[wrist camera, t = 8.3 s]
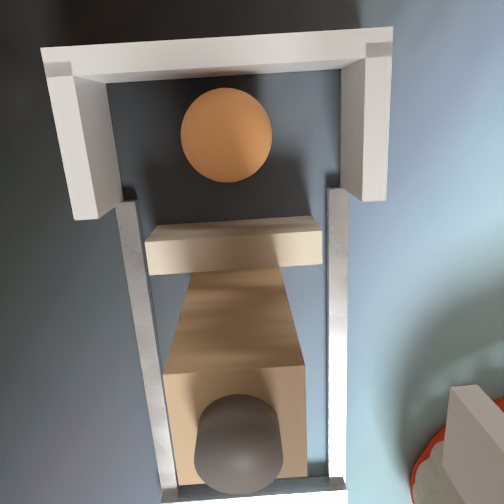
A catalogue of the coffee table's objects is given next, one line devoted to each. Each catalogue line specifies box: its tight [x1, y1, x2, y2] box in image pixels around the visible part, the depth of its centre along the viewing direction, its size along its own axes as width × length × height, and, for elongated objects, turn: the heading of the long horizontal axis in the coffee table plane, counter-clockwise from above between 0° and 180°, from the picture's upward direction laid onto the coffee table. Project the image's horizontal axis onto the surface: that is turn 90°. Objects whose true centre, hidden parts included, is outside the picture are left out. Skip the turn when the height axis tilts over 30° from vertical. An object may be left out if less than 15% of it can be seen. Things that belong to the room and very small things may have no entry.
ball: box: [181, 88, 272, 182], centre depth 18 cm, size 4×4×4 cm
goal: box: [40, 27, 393, 220], centre depth 18 cm, size 13×6×4 cm, turn 93°
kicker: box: [145, 215, 322, 495], centre depth 17 cm, size 8×6×12 cm
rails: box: [115, 186, 349, 504], centre depth 24 cm, size 12×20×1 cm, turn 3°
